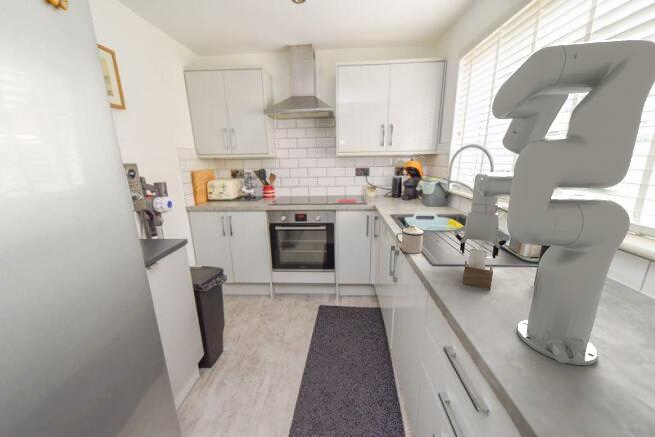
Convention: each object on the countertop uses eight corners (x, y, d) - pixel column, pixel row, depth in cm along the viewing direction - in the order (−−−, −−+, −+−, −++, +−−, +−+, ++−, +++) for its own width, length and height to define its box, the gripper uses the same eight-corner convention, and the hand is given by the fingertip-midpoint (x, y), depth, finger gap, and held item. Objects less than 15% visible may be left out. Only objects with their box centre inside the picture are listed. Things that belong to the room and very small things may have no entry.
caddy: (490, 289, 74) (493, 271, 73) (462, 284, 78) (465, 266, 76) (489, 282, 78) (491, 265, 77) (463, 277, 82) (465, 261, 80)
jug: (484, 276, 82) (487, 254, 80) (467, 273, 85) (470, 252, 83) (483, 268, 89) (486, 247, 87) (467, 265, 91) (470, 245, 90)
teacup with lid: (424, 249, 109) (427, 224, 106) (418, 255, 102) (420, 229, 99) (399, 244, 116) (400, 220, 113) (391, 249, 109) (392, 224, 106)
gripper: (512, 209, 83) (505, 255, 87) (456, 205, 92) (452, 248, 95) (516, 212, 77) (508, 262, 81) (455, 208, 86) (450, 254, 89)
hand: (477, 254), depth 88 cm, fingers open, 9 cm apart
